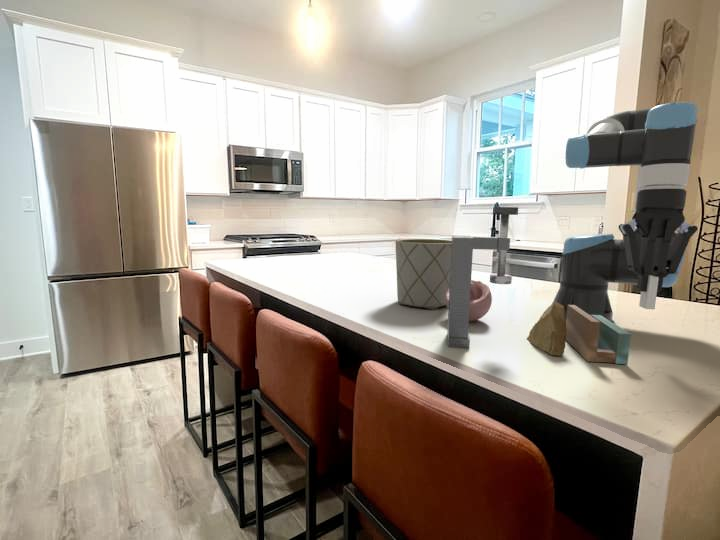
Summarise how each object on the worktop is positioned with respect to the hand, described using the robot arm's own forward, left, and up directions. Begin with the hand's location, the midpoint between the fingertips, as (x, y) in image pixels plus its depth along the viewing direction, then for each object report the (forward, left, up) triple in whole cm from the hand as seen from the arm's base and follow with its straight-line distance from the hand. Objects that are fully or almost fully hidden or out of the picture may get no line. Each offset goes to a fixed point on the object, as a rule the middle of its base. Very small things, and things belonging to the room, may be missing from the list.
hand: (646, 307), depth 77 cm
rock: (+18, 0, -10) cm, 21 cm away
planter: (+45, -35, -10) cm, 58 cm away
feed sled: (+9, 0, -10) cm, 13 cm away
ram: (+28, 0, +4) cm, 29 cm away
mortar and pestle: (+33, -18, -10) cm, 39 cm away
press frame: (+33, 0, -10) cm, 35 cm away
